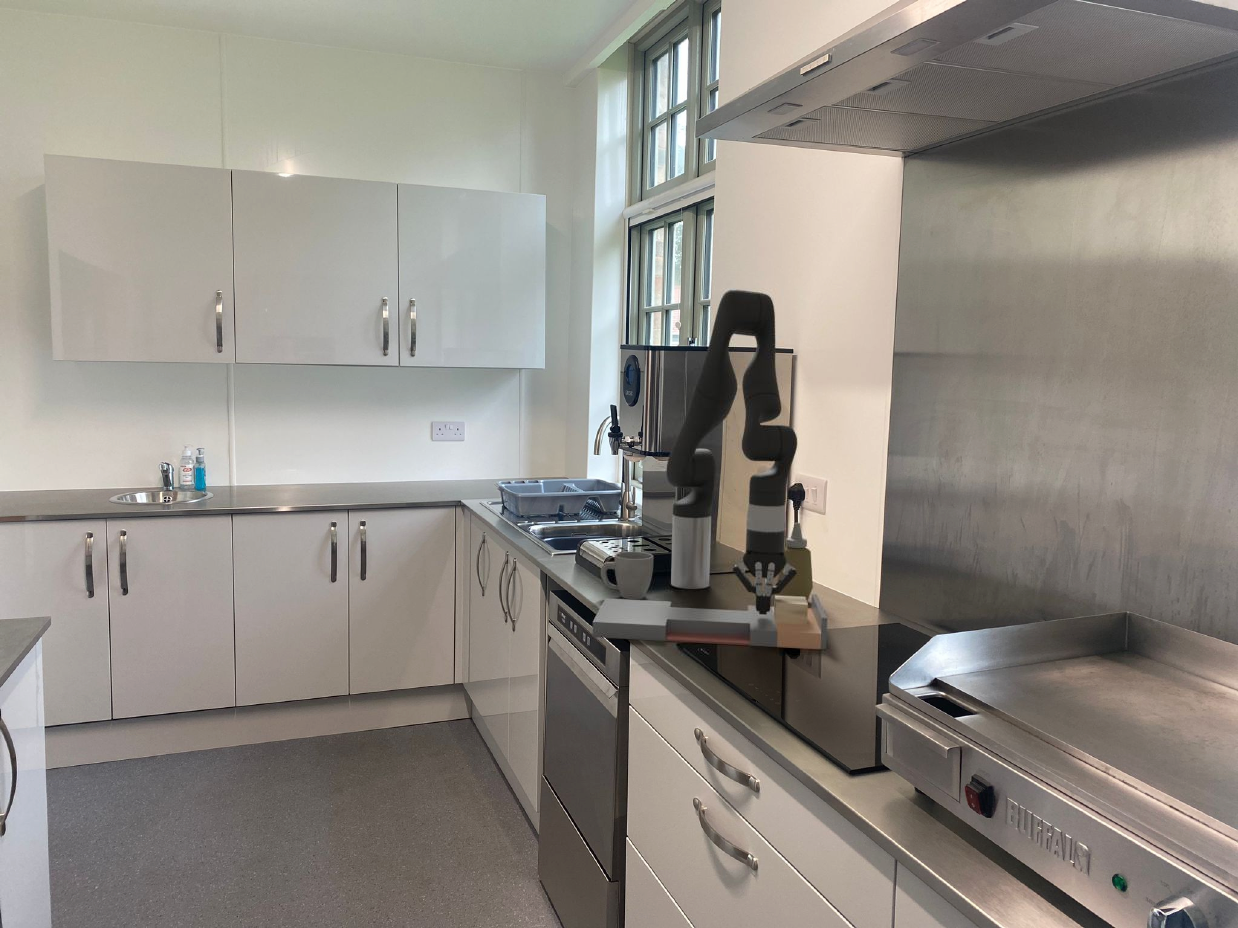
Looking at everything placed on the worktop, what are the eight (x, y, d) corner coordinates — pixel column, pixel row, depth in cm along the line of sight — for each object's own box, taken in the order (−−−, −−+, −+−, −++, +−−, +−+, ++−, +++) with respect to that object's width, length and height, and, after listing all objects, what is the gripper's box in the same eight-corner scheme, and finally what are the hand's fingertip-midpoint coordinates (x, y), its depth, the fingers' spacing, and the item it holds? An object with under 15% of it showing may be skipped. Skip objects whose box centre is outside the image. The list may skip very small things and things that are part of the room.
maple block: (773, 614, 172) (774, 595, 171) (804, 616, 171) (805, 596, 171) (775, 623, 166) (776, 602, 165) (807, 624, 165) (808, 604, 165)
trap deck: (605, 612, 183) (605, 584, 182) (815, 622, 178) (816, 594, 177) (592, 636, 165) (593, 606, 164) (825, 649, 160) (827, 618, 159)
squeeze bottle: (773, 604, 192) (776, 524, 190) (778, 595, 200) (781, 519, 198) (810, 607, 190) (814, 527, 188) (813, 598, 197) (816, 521, 196)
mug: (648, 591, 201) (649, 551, 200) (656, 601, 193) (656, 558, 192) (597, 592, 200) (598, 551, 199) (603, 602, 191) (603, 559, 190)
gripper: (798, 525, 171) (795, 610, 172) (731, 522, 172) (728, 606, 174) (802, 531, 163) (798, 620, 165) (732, 528, 165) (729, 616, 167)
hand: (762, 613), depth 169 cm, fingers closed
